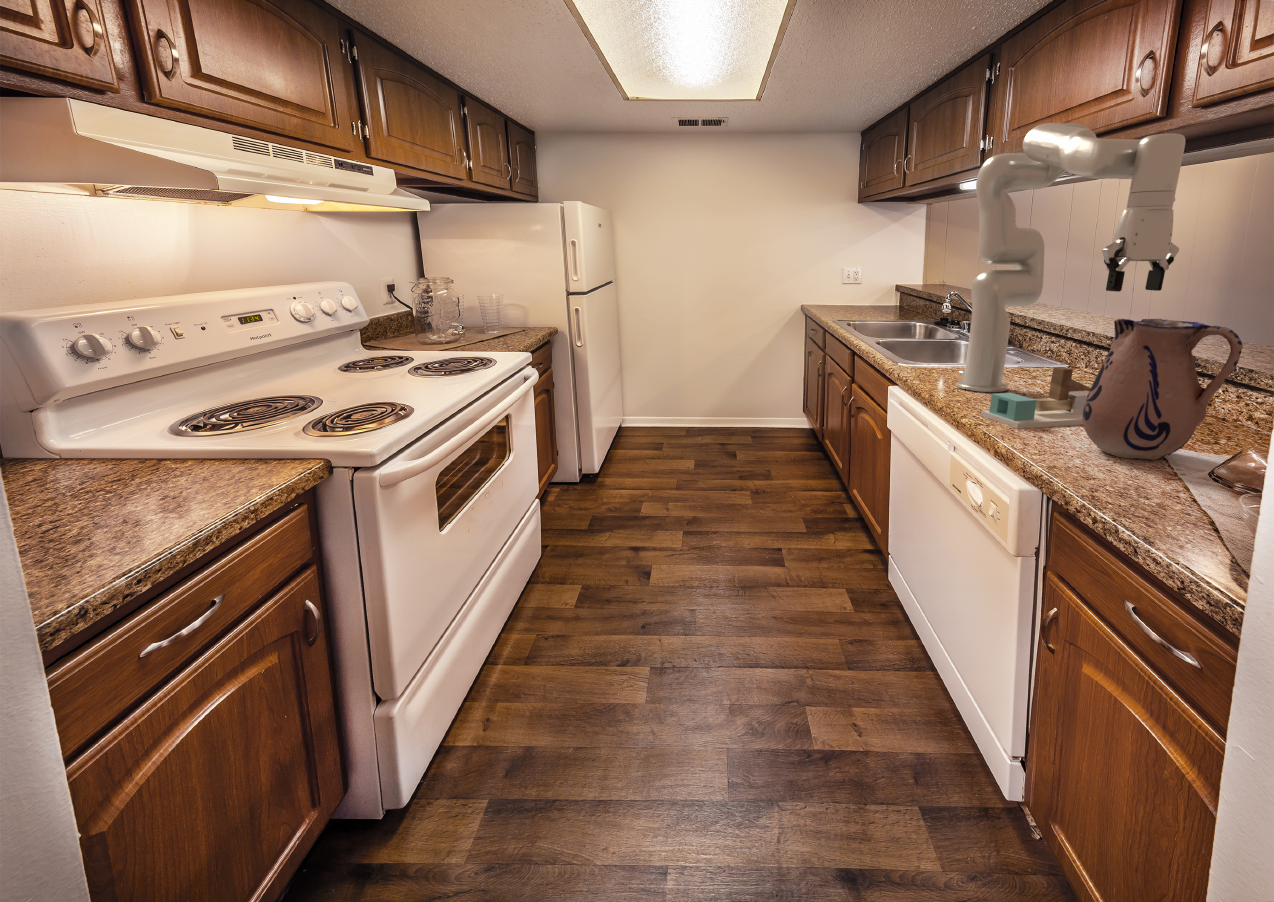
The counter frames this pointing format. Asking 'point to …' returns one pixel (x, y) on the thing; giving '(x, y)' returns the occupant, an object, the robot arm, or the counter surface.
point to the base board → (1039, 419)
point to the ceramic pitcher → (1152, 388)
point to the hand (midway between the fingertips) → (1133, 290)
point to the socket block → (1012, 406)
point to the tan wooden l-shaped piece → (1057, 392)
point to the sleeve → (1077, 402)
